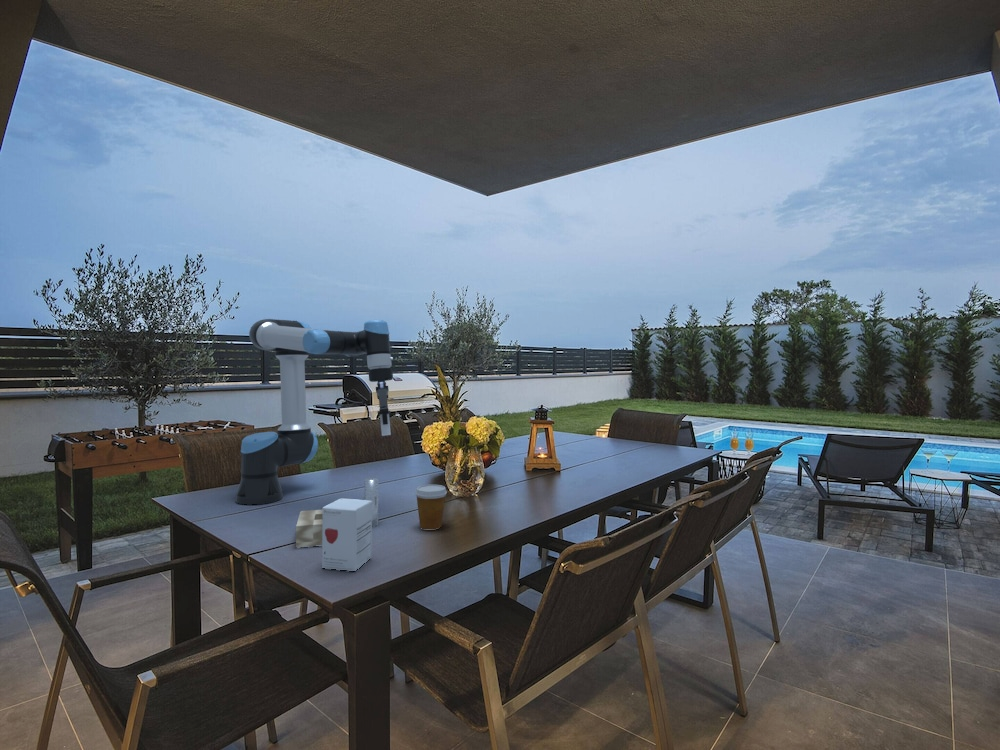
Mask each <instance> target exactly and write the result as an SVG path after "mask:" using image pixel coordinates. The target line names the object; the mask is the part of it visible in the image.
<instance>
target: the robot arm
mask: <svg viewBox="0 0 1000 750" xmlns="http://www.w3.org/2000/svg"><path fill="white" fill-rule="evenodd" d="M248 336H249V340H250V342H251V343H252V345H253V346H254V347H256V348H257V349H259V350H262V351H269V352H274V353H275V357H276V358H275V359H277V360H279V369H280V370H279V371H280V372H279V373H280V374H279V375H280V377H279V378H280V403H281V404H280V405H281V425H280V426H279V427H278V428H277V432H275V431H265V432H258V433H252V434H249V435H246V436H245V437H244V438H242V440H241V447H240V456H241V457H240V458H241V459H240V467H241V468H240V469H241V471H240V473H241V474H240V476H241V478H240V482H239V485H238V488H237V490H236V494H235V503H236V504H238V503H239V504H238V505H244V504H247V505H248V506H250V505H252V504H257V505H264V504H265V503H266V504H271V503H275V502H278V501H280V500H282V498H283V496H284V495H283V494H284V493H283V492H284V491H283V488H282V486H281V482H280V481H279V477H278V468H281V467H287V466H292V465H301V464H303V463H307V462H309V461H311V460H312V459H314V458H315V456H316V455H317V452H318V450H319V449H318V448H319V441H318V437H317V435H316V433H315V432H313V431H311V430H312V429H311V426H310V425H309V424H308V423H307V407H306V406H307V405H306V404H307V402H306V370H305V369H306V365H305V361H306V360H307V358H308V357H309V354H311V355H312V354H313V355H339V356H340V355H343V356H346V357H349V358H350V357H358V356H360V355H364V354H366V361H367V368H368V371H367V372H368V373H367V374H368V380H369V382H371V383H374V382H375V383H376V386H375V393H376V397H377V400H378V401H379V402H378V403H379V410H377V415H379V419H380V429H381V431H380V432H381V436H382V437H384V436H391V435H392V433H391V421H390V415H391V414H392V413H391V410H390V409H389V405H388V399H389V385H387V383H386V382H387V381H392V380H394V373H393V368H391V367H392V365H393V364H392V361H394V357H392V356H391V354H392V353H391V352H392V351H391V341H390V332H389V325H388V322H387V321H386V320H383V319H371V320H367V321H365V322H364V324H363V330H360V331H359V330H358V331H341V330H340V331H339V330H328V329H327V330H326V329H318V328H312V327H311V326H310V325H309V324H308V323H306V322H304V321H298V320H288V319H287V320H286V319H273V318H264V319H260V320H258V321H256V322H255V323H254V324H252V326H251V327H250V329H249V333H248ZM247 505H246V506H247ZM252 506H253V505H252Z"/></svg>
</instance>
